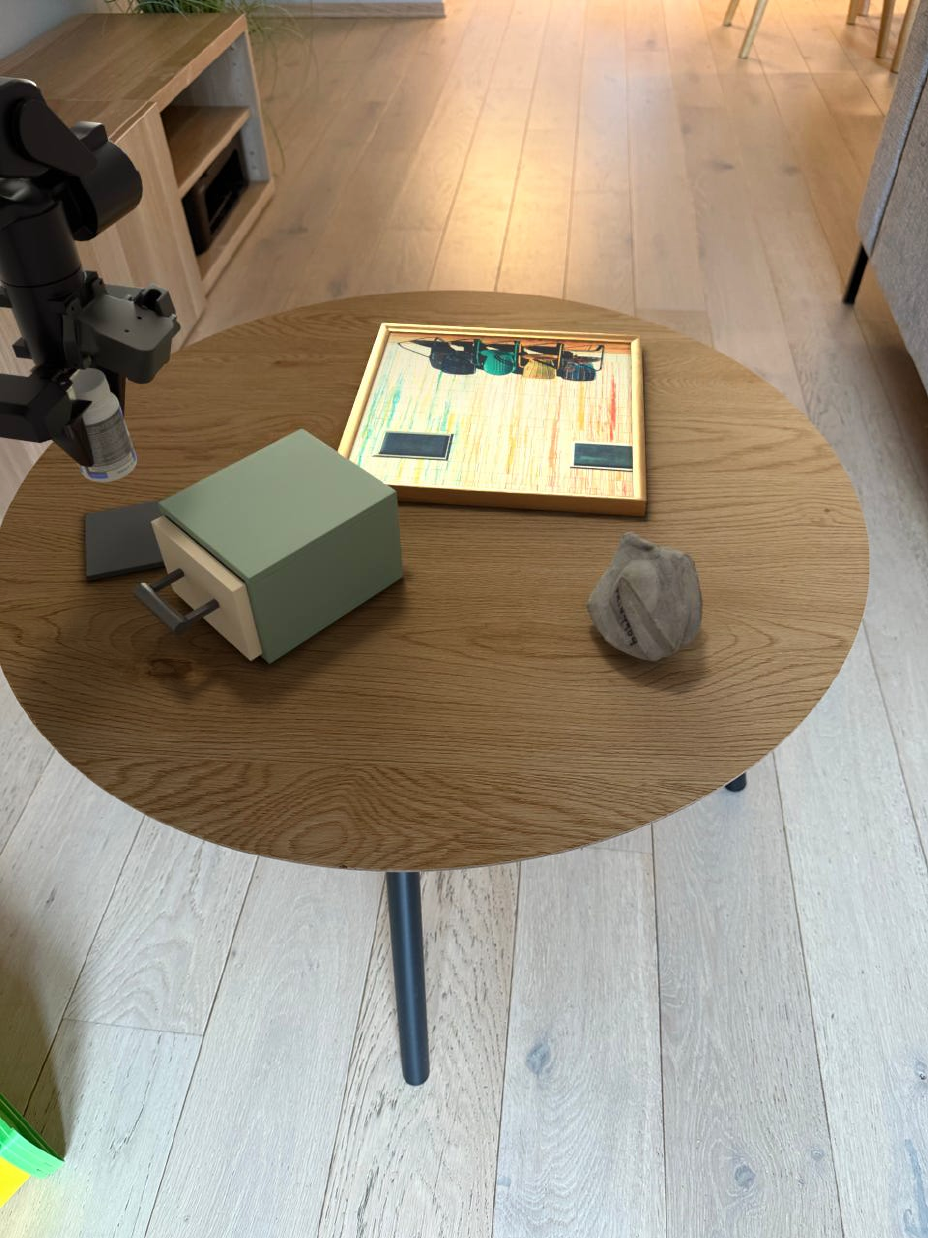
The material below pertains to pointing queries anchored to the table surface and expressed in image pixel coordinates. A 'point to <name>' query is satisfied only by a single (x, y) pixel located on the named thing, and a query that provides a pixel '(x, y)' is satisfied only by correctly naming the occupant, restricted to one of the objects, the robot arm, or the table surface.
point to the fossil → (647, 599)
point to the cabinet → (296, 535)
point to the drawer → (200, 590)
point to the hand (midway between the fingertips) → (102, 448)
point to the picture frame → (503, 418)
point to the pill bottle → (104, 429)
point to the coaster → (122, 541)
